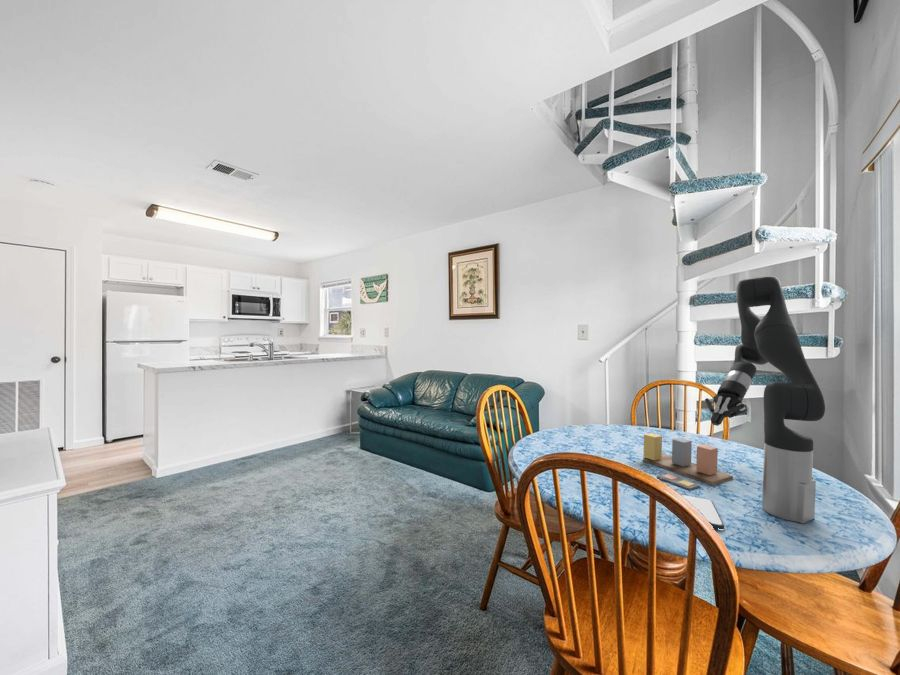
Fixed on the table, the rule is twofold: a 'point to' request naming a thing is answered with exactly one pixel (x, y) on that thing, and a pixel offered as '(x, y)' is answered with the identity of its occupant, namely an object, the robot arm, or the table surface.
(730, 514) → the table surface
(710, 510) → the phone case
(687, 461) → the grey rectangular block
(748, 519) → the table surface
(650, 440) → the yellow tall block
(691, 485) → the card
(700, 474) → the keypad base
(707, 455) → the salmon pink block
